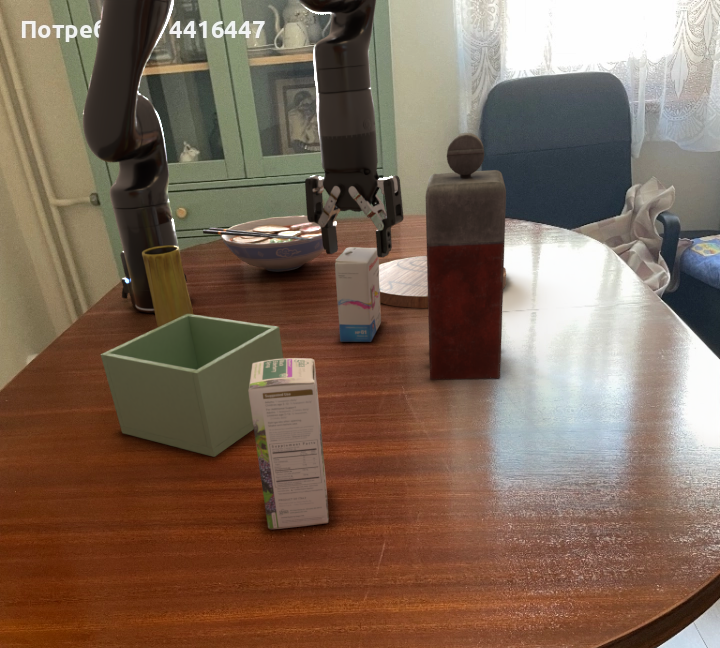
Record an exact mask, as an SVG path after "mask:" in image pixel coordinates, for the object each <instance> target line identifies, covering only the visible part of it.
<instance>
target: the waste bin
mask: <svg viewBox="0 0 720 648" xmlns="http://www.w3.org/2000/svg"><path fill="white" fill-rule="evenodd" d="M193 314H194V313H193ZM193 314H186V315H184V316H181V317H179V318H177V319H175V320H173V321H171V322H169V323H167V324H164V325H162V326H160V327H158V328H157V327H155V328H154V329H151V330H150V331H147V332H145V333H143V334H141V335H139V336H136V337H134V338H133V339H130V340H128V341H125V342H124V343H121V344H120V345H118V346H116V347H115V346H114V347H113V348H110V349H109V350H107V351H105V352H103V353H101V354H100V357H101V361H102V365H103V369H104V372H105V375H106V379H107V380H106V381H107V383H108V387H109V391H110V394H111V398H112V401H113V405H114V409H115V412H116V415H117V419H118V423H119V427H120V430H121V433H122V434H124V435H128V436H132V437H136V438H140V439H143V440H148V441H151V442H155V443H159V444H163V445H168V446H169V447H170V446H171V447H174V448H178V449H182V450H186V451H190V452H194V453H198V454H200V455H201V454H202V455H204V456H205V455H206V456H208V457H213V458H215V457H217V456H218V455H220V454H221V453H222V452H224V451H225V450H227V448H229V447H231V446H232V445H234V444H236V442H238V441H239V440H241V439H242V438H244V437H245V436H246V435H248V434H249V433H251V432H252V431H254V427H253V420H252V412H251V406H250V399H249V392H248V390H249V385H250V377H251V370H252V364H253V363H257V362H261V361H267V360H274V359H284V352H283V346H282V339H281V331H280V326H275V325H269V324H262V323H256V322H255V323H254V322H247V321H241V320H233V319H227V318H219V317H214V316H206V315H199V314H194V315H193Z"/></svg>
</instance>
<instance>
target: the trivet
mask: <svg viewBox="0 0 720 648" xmlns="http://www.w3.org/2000/svg"><path fill="white" fill-rule="evenodd" d="M379 284H380V304H384V305H389V306H395V307H400V308H415V309H416V308H417V309H428V280H427V254H426V255H419V256H418V255H417V256H410V257H405V258H399V259H394V260H389V261H387V262H384V263H381V264H380V263H379ZM506 285H507V269H506V267H504V275H503V289H504V288H506Z"/></svg>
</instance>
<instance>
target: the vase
mask: <svg viewBox="0 0 720 648" xmlns="http://www.w3.org/2000/svg"><path fill="white" fill-rule="evenodd" d="M179 251H180V246H179V247H177V246H171V245H168V246H158V247H153V248H149V249H146V250H144V251H143V252H142V255H143V259H144V264H145V268H146V273H147V278H148V283H149V287H150V292H151V296H152V301H153V306H154V311H155V313H154V314H155V321H156V328H158V327H160V326H162V325H164V324H167V323H169V322H171V321H173V320H175V319H177V318H179V317H181V316H184V315H186V314H193V315H195V314H194V311H193V306H192V302H191V298H190V294H189V289H188V285H187V282H186V280H185V276H184V273H185V271H184V268H183V267H182V266H183V262H182V261H183V260H182V257H181V251H180V252H179ZM183 271H184V272H183Z"/></svg>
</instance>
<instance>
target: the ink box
mask: <svg viewBox="0 0 720 648" xmlns="http://www.w3.org/2000/svg"><path fill="white" fill-rule="evenodd" d="M334 261H335V263H334V270H335V271H334V272H335V285H336V287H335V288H336V299H337V311H338V312H337V313H338V326H339V327H338V328H339V329H338V330H339V341H340V342H341V343H349V342H350V343H352V342H353V343H371V342H372V341H373V340H374V337H375V335H376V333H377V331H378V329H379V327H380V325H381V324H382V313H381V303H380V284H379V265H380V257H378V256H377V247H358V246H357V247H354V246H352V247H351V246H349V247H346V248H345V249H344V250H343V251H342V252H341V254H340V255H338V257H337V258H335V260H334Z"/></svg>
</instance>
